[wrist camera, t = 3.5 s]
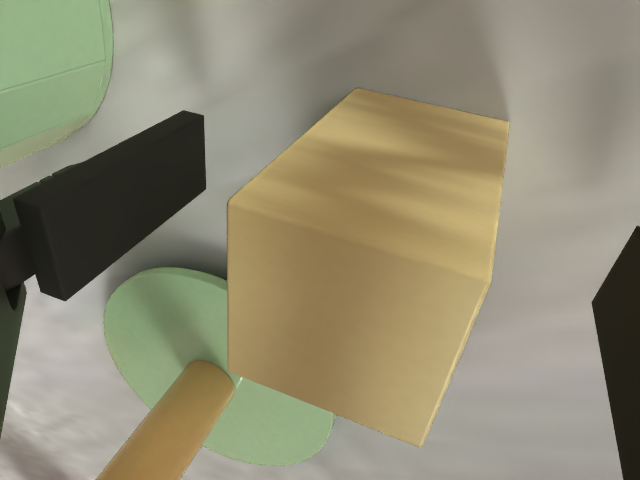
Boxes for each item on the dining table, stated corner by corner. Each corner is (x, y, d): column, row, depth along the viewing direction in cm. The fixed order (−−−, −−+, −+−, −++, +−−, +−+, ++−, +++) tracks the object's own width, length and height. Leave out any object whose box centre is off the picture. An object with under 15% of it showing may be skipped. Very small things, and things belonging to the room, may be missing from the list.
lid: (393, 385, 22) (315, 638, 14) (268, 475, 31) (175, 666, 23) (156, 207, 22) (-62, 365, 14) (96, 349, 30) (-61, 497, 22)
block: (510, 121, 14) (492, 281, 8) (464, 252, 17) (421, 450, 11) (356, 86, 16) (224, 199, 9) (336, 214, 19) (225, 372, 12)
